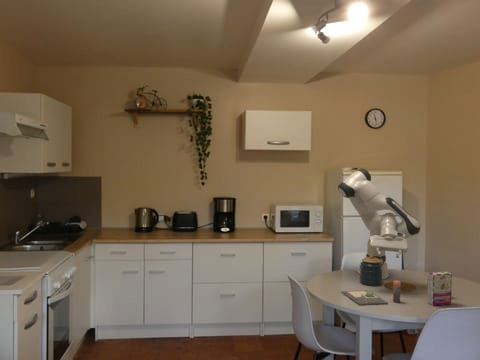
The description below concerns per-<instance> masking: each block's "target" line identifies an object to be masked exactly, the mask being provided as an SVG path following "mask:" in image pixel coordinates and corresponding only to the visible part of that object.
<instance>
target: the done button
mask: <svg viewBox="0 0 480 360" xmlns="http://www.w3.org/2000/svg"><path fill="white" fill-rule="evenodd" d="M373 294H374V291H372V290H368V291H366V296H367V297H373Z"/></svg>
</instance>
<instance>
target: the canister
mask: <svg viewBox="0 0 480 360" xmlns="http://www.w3.org/2000/svg"><path fill="white" fill-rule="evenodd" d="M380 262H381V260H379V259H378V258H375V257H374V256H373V255H370V256H369V257H366V256H365V257H363V258H362V259H361V262H360V264H359V265H361V268H360V267H359V270H360V275H359V283H360V284H361V285H364V286H369V287H379V286H381V285H382V284H383V279H382V266H383V265H382V264H381V263H380Z"/></svg>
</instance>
